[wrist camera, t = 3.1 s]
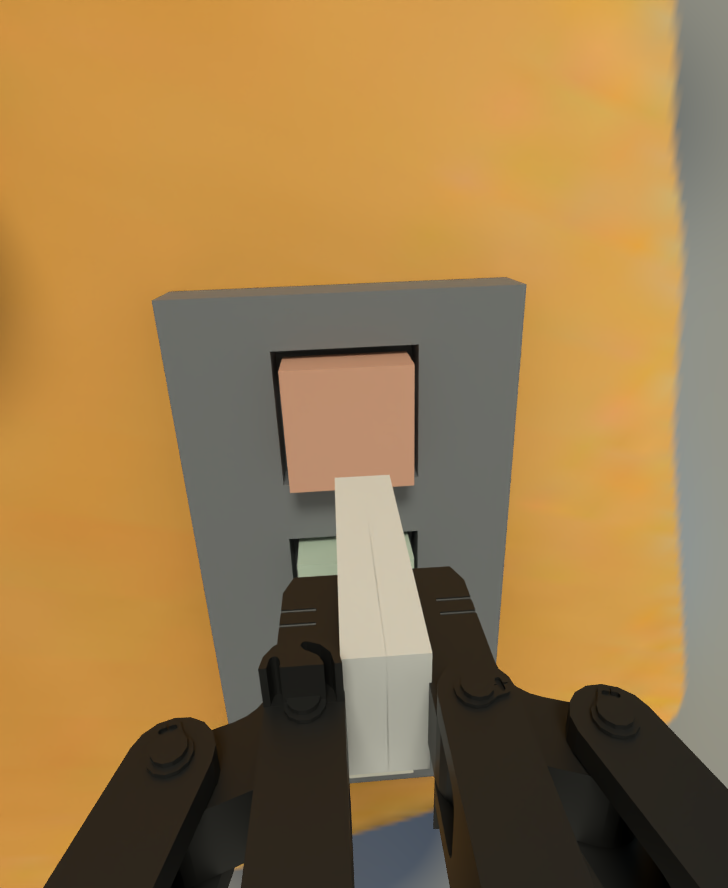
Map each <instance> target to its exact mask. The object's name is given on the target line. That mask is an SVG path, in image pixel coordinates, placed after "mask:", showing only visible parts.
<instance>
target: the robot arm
mask: <svg viewBox="0 0 728 888" xmlns="http://www.w3.org/2000/svg"><path fill="white" fill-rule="evenodd" d="M335 508H336V541H337V574H338V575H327V576H312V577H296V578H293V580H292V581H291V582H290V584H289V585H288V587H287V588H286V589H285V591H284V592H283V597H282V606H281V614H280V623H279V632H278V640H277V645H275V646H273V647H272V648H271V649H270V650H269V651H268V652H267V653H266V654H265V655H264V656H263V658H262V660H261V663H260V665H259V668H258V672H259V679H260V687H261V694H262V701H263V703H262V704H261V705H260V706H259V707H258V708H257V709H256V710H254V711H253V712H252V713H250V714H249V715H247V716H246V717H244V718H242V719H239V720H237V721H235V722H233V723H230V724H227V725H225V726H222V727H219V728H216V729H214V730H211V729H210V728H209V727H208V726H207V725H206V724H205V722H202V721H200V720H197V719H194V718H191V717H189V718H174V719H171V720H168V721H165V722H162V723H159V724H157V725H156V726H154V727H153V728H151V729H150V730H148V731H147V732H145V733H144V734H142V736H141V737H140V738H139V739H138V740H137V741H136V743H135V744H134V745H133V746H132V747H131V748H130V750H129V752H128V753H127V755H126V756H125V758H124V760H123V761H122V763H121V764H120V766H119V768H118V769H117V771H116V772H115V774H114V776H113V777H112V779H111V780H110V782H109V783H108V785H107V787H106V788H105V790H104V791H103V793H102V795H101V796H100V798H99V799H98V801H97V803H96V804H95V806H94V807H93V809H92V811H91V812H90V814H89V815H88V817H87V819H86V820H85V822H84V823H83V825H82V827H81V828H80V830H79V831H78V833H77V835H76V836H75V838H74V839H73V841H72V843H71V844H70V846H69V847H68V849H67V851H66V852H65V854H64V855H63V857H62V859H61V860H60V862H59V863H58V865H57V867H56V868H55V870H54V871H53V873H52V875H51V876H50V878H49V879H48V881H47V883H46V884H45V886H44V887H43V888H228V886H229V883H230V880H231V877H232V875H233V872H234V868H235V867H237V866H239V865H241V864H243V863H244V868H243V876H242V884H241V888H354V867H353V843H352V820H351V800H350V782H349V775H358V774H370V773H382V772H395V771H407V770H419V769H430V756H431V762H432V767H433V772H434V777H435V787H434V823H433V827H434V829H440V835H441V840H442V846H443V851H444V856H445V862H446V868H447V873H448V879H449V884H450V888H728V789H727V788H726V787H725V786H724V784H723V783H722V782H720V780H719V779H718V778H717V777H716V776H715V775H714V774H713V773H712V772H711V771H710V770H709V769H708V768H707V767H706V766H705V765H704V764H703V763H702V762H701V760H700V759H699V758H698V757H697V756H696V755H695V754H694V753H693V752H692V751H691V750H690V749H689V748H688V747H687V746H686V745H685V744H684V743H683V742H682V741H681V740H680V739H679V737H677V736H676V734H674V732H673V731H672V730H671V729H670V728H669V727H668V726H667V725H666V724H665V723H664V722H663V721H662V720H661V719H660V718H659V717H658V716H657V715H656V713H655V712H654V711H653V710H652V709H651V708H650V707H649V706H648V705H646V704H645V703H644V702H643V701H641V700H640V699H639V698H638V697H636V696H635V695H633V694H631V693H629V692H627V691H625V690H622V689H620V688H618V687H613V686H608V685H603V684H598V685H589V686H585V687H583V688H581V689H580V690H578V691H576V692H575V693H574V695H573V697H572V699H571V700H570V702H565V701H560V700H555V699H550V698H545V697H541V696H537V695H534V694H530V693H528V692H526V691H524V690H522V689H520V688H518V687H516V686H515V685H514V684H513V683H512V681H511V679H510V678H509V676H507V675H506V674H505V673H503V672H502V671H501V670H499V669H498V667H497V665H496V663H495V660H494V658H493V655H492V652H491V650H490V647H489V644H488V642H487V639H486V636H485V634H484V631H483V628H482V626H481V623H480V620H479V618H478V615H477V613H476V611H475V607H474V604H473V602H472V599H471V598H470V594H469V591H468V589H467V586H466V583H465V581H464V579H463V578H462V577H461V576H460V575H459V574H458V573H457V572H455V571H454V570H453V569H452V568H451V567H450V566H444V567H429V568H413V569H412V566H411V562H410V558H409V554H408V549H407V545H406V541H405V537H404V533H403V529H402V525H401V520H400V516H399V512H398V508H397V504H396V500H395V496H394V491H393V487H392V483H391V479H390V475H375V476H357V477H339V478H335Z"/></svg>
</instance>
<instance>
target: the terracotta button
mask: <svg viewBox="0 0 728 888" xmlns="http://www.w3.org/2000/svg"><path fill="white" fill-rule="evenodd" d="M278 375H279V385H280V395H281V405H282V415H283V426H284V436H285V446H286V456H287V466H288V477H289V487H290V493H299V492H315V491H332V490H335V478H339V477H357V476H375V475H390V479H391V483H392V487H397V486H413V485H414V392H415V365H414V363H413V361H412V360H411V358H410V356H409V354H408V353H407V351H392V352H372V353H352V354H331V355H311V356H291V357H282V360H281V364H280V367H279V371H278Z"/></svg>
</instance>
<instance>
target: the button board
mask: <svg viewBox="0 0 728 888" xmlns="http://www.w3.org/2000/svg"><path fill="white" fill-rule="evenodd" d="M525 295H526V284H524V283H521V282H518V281H515V280H512V279H510V278H507V277H501V278H478V279H454V280H431V281H408V282H384V283H361V284H338V285H314V286H291V287H268V288H245V289H221V290H198V291H175V292H168V293H166V294H164V295H162V296H160V297H158V298H156V299H154V300H152V305H153V310H154V316H155V321H156V327H157V332H158V338H159V343H160V349H161V354H162V360H163V365H164V371H165V376H166V382H167V387H168V393H169V398H170V404H171V409H172V415H173V420H174V426H175V431H176V437H177V442H178V448H179V453H180V459H181V464H182V470H183V475H184V481H185V486H186V492H187V497H188V503H189V508H190V514H191V519H192V525H193V530H194V536H195V541H196V547H197V552H198V558H199V563H200V569H201V574H202V580H203V585H204V591H205V596H206V602H207V607H208V613H209V618H210V624H211V629H212V635H213V640H214V646H215V651H216V657H217V662H218V668H219V673H220V679H221V684H222V690H223V695H224V701H225V706H226V712H227V717H228V723H229V724H230V723H233V722H235V721H237V720H239V719H242V718H244V717H246V716H247V715H249V714H250V713H252V712H253V711H254V710H256V709H257V708H258V707H259V706H260V705H261V704H262V703H263V701H262V694H261V687H260V679H259V672H258V668H259V665H260V663H261V660H262V658H263V656H264V655H265V654H266V653H267V652H268V651H269V650H270V649H271V648H272V647H273V646H275V645H277V640H278V632H279V623H280V614H281V606H282V597H283V592H284V591H285V589H286V588H287V587H288V585H289V584H290V582H291V581H292V580H293V578H296V577H298V569H297V562H298V549H299V538H314V537H329V536H336V508H335V490H332V491H315V492H299V493H290V487H289V477H288V466H287V456H286V446H285V436H284V426H283V415H282V405H281V395H280V385H279V375H278V371H279V367H280V364H281V360H282V357H291V356H311V355H331V354H352V353H372V352H392V351H407V353H408V354H409V356H410V358H411V360H412V361H413V363H414V365H415V392H414V485H413V486H397V487H393V491H394V496H395V500H396V504H397V508H398V512H399V516H400V520H401V525H402V529H403V532H405V531H407V533H408V537H409V541H410V544H411V548H412V552H413V556H414V568H429V567H444V566H450V567H451V568H452V569H453V570H454V571H455V572H457V573H458V574H459V575H460V576H461V577H462V578H463V579H464V581H465V583H466V586H467V589H468V591H469V594H470V598H471V599H472V602H473V604H474V607H475V611H476V613H477V615H478V618H479V620H480V623H481V626H482V628H483V631H484V634H485V636H486V639H487V642H488V644H489V647H490V650H491V652H492V655H493V658H494V660H495V663H496V657H497V644H498V632H499V619H500V607H501V594H502V582H503V569H504V557H505V544H506V532H507V520H508V507H509V495H510V482H511V470H512V457H513V445H514V432H515V420H516V407H517V395H518V382H519V370H520V357H521V345H522V332H523V320H524V307H525ZM427 776H434V772H433V767H432V762H431V756H430V769H419V770H413V773H407V774H395V775H384V776H372V777H361V778H349V782H350V783H359V782H370V781H382V780H393V779H405V778H416V777H427Z"/></svg>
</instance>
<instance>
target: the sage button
mask: <svg viewBox="0 0 728 888" xmlns="http://www.w3.org/2000/svg"><path fill="white" fill-rule="evenodd" d="M403 533H404V537H405V541H406V545H407V549H408V554H409V558H410V562H411V566H412V569H413V568H414V556H413V552H412V548H411V544H410V541H409V537H408V533H407V531H405V532H403ZM297 569H298V577H312V576H327V575H338V574H337V541H336V536H329V537H314V538H299V549H298V562H297Z"/></svg>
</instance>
